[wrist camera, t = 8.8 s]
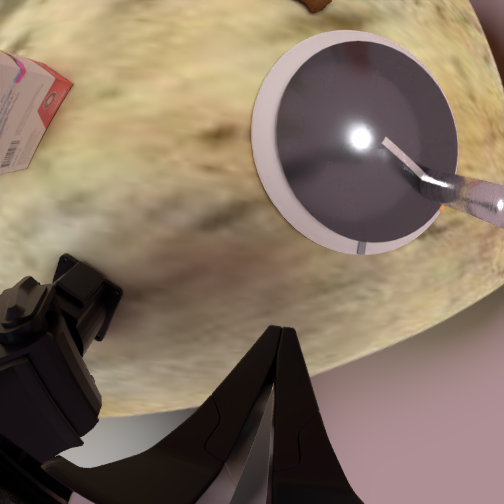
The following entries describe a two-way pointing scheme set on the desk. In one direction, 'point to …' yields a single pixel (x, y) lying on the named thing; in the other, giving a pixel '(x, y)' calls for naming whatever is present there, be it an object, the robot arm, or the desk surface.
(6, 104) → the ink cartridge box
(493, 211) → the dial
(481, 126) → the desk surface
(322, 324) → the desk surface
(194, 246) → the desk surface
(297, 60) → the dial base
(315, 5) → the primitive tool
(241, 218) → the desk surface
